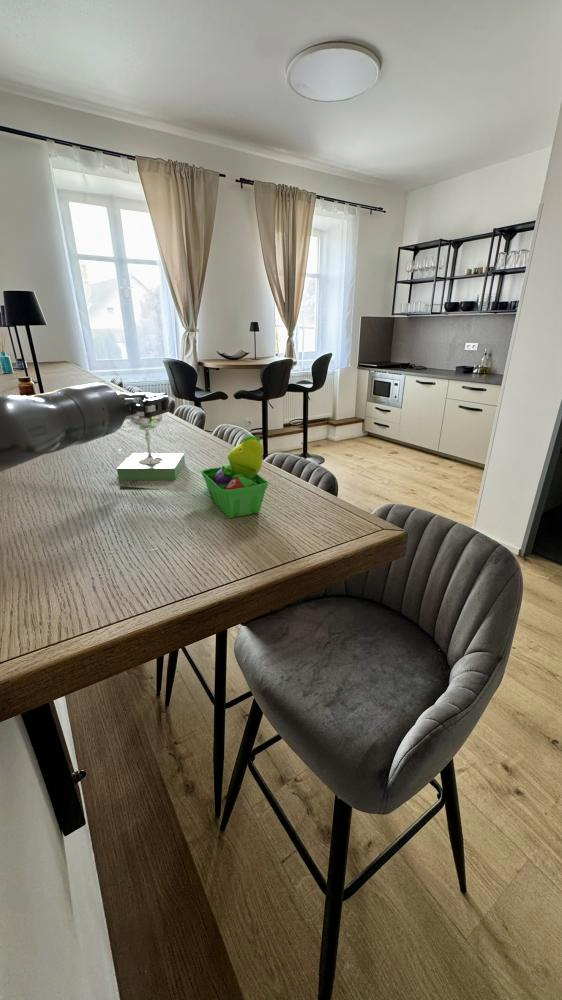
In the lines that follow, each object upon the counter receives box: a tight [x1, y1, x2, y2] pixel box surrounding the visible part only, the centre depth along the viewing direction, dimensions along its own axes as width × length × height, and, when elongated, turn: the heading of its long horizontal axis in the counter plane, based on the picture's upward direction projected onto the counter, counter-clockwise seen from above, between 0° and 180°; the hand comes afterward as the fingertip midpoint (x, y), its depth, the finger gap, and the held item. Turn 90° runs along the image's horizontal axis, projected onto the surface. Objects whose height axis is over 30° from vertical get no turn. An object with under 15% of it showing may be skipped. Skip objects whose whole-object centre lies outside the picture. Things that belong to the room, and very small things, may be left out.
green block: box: [116, 452, 186, 491], centre depth 77 cm, size 10×10×4 cm
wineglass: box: [128, 392, 163, 464], centre depth 74 cm, size 6×6×12 cm
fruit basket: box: [200, 435, 269, 519], centre depth 65 cm, size 11×9×11 cm
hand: (143, 398), depth 71 cm, fingers open, 8 cm apart
